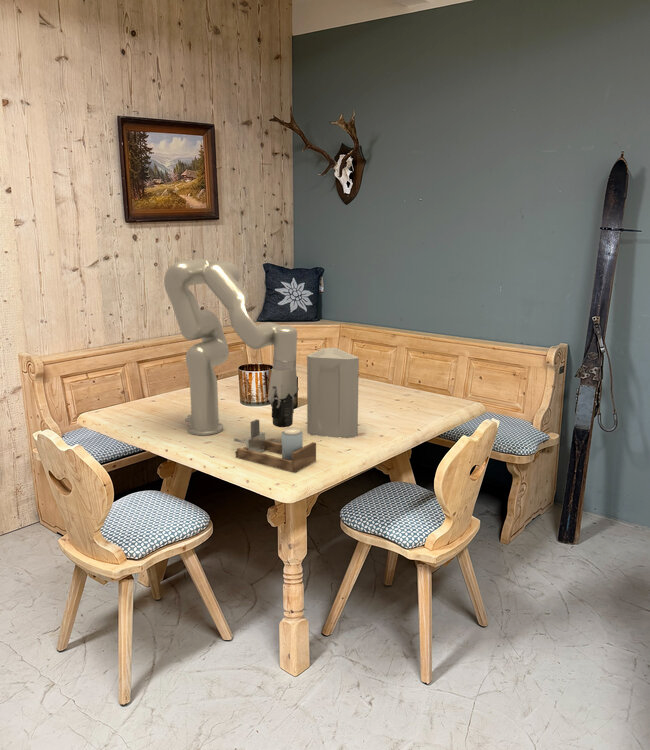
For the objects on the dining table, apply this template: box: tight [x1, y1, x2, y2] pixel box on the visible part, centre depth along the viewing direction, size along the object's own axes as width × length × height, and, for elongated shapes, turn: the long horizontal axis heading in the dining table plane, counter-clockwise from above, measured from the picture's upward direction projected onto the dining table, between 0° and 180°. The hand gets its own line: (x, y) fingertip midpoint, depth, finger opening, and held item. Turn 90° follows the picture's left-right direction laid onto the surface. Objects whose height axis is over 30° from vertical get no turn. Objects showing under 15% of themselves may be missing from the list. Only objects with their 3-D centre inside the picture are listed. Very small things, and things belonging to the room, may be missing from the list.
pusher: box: [233, 419, 266, 453], centre depth 215 cm, size 9×8×11 cm
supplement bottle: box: [272, 393, 294, 428], centre depth 222 cm, size 7×7×12 cm
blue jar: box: [281, 426, 304, 461], centre depth 205 cm, size 6×6×11 cm
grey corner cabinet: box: [306, 347, 360, 439], centre depth 233 cm, size 19×15×28 cm
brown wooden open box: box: [235, 439, 317, 473], centre depth 209 cm, size 23×11×6 cm, turn 57°
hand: (282, 415), depth 223 cm, fingers closed on supplement bottle, 6 cm apart
